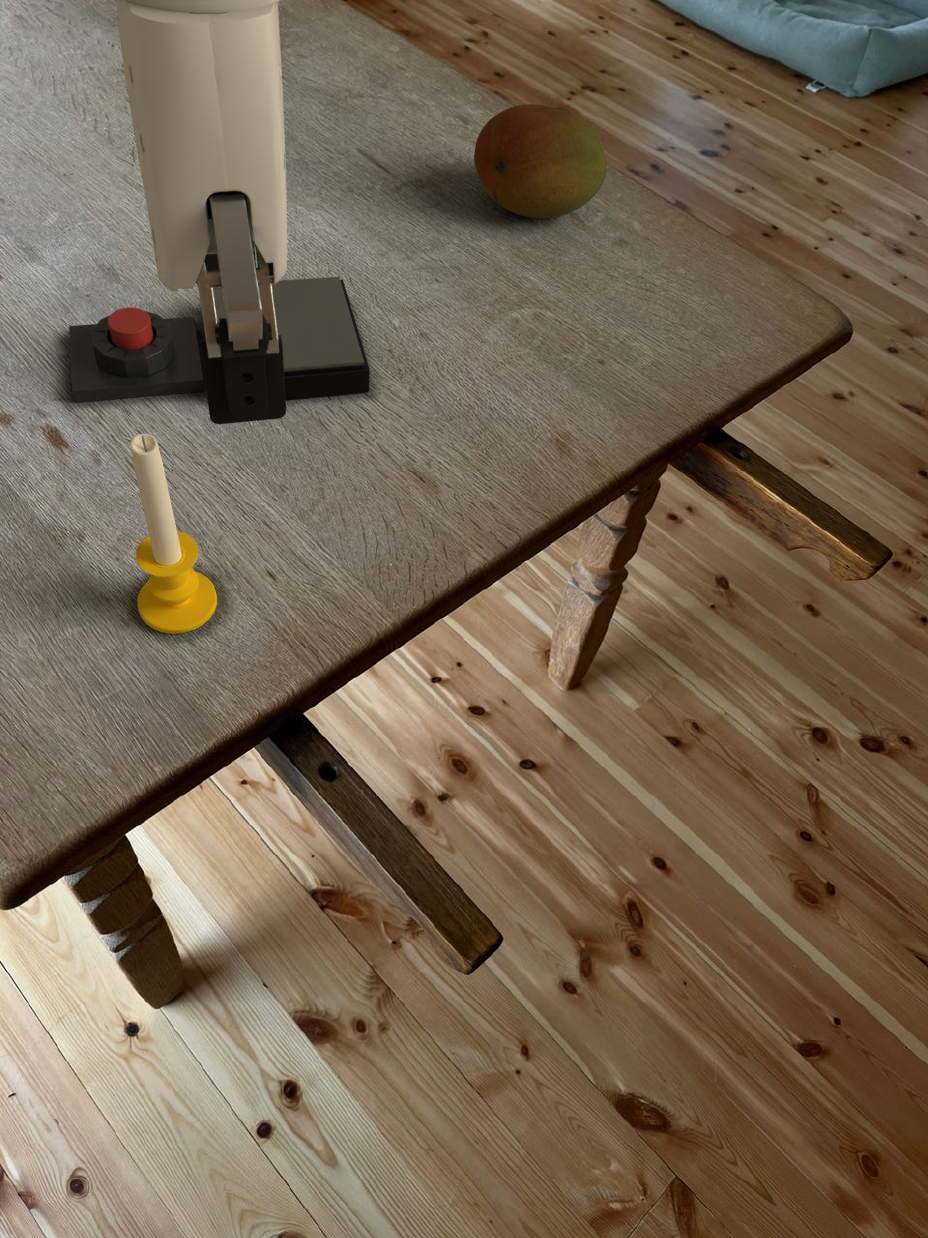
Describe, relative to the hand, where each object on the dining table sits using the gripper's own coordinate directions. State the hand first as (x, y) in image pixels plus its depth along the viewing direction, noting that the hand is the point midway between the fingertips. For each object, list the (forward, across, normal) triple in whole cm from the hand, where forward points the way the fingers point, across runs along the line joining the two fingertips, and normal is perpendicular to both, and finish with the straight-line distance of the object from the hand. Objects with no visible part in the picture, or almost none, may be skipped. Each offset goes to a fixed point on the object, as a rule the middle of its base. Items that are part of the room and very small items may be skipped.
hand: (234, 343), depth 46 cm
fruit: (+26, -50, +34) cm, 65 cm away
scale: (+26, -31, +6) cm, 40 cm away
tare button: (+23, -31, -6) cm, 39 cm away
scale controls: (+26, -31, -6) cm, 41 cm away
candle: (+26, -6, -5) cm, 27 cm away
